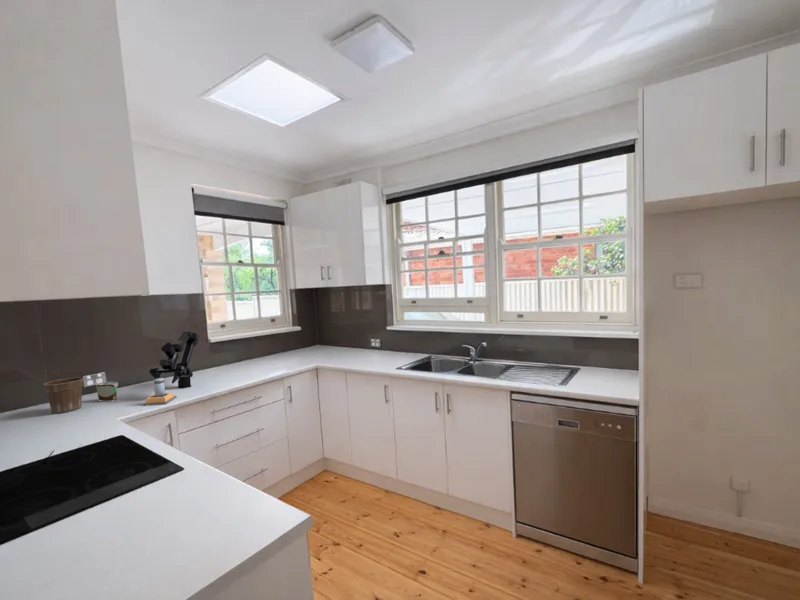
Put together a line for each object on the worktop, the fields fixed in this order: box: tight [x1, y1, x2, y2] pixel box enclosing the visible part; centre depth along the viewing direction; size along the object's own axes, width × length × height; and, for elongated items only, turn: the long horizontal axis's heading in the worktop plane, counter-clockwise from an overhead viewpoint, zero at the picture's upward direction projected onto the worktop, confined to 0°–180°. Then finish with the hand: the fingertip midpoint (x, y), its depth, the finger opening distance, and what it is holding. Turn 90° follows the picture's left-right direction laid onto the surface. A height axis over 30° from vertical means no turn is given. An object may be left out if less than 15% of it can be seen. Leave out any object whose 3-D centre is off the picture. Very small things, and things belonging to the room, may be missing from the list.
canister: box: [153, 377, 166, 397], centre depth 207 cm, size 5×5×12 cm
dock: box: [142, 392, 178, 407], centre depth 207 cm, size 12×12×4 cm
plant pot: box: [43, 376, 85, 414], centre depth 199 cm, size 16×16×16 cm
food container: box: [95, 381, 119, 402], centre depth 217 cm, size 12×6×10 cm, turn 84°
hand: (163, 383), depth 212 cm, fingers open, 9 cm apart
